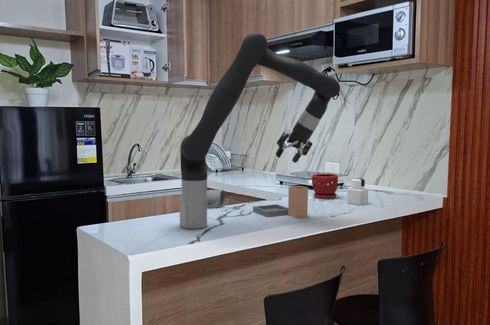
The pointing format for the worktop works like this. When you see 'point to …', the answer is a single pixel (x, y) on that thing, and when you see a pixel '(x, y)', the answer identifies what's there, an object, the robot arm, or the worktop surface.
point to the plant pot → (325, 185)
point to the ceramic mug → (215, 198)
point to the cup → (298, 201)
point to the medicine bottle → (357, 192)
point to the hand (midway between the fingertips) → (285, 159)
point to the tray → (271, 210)
